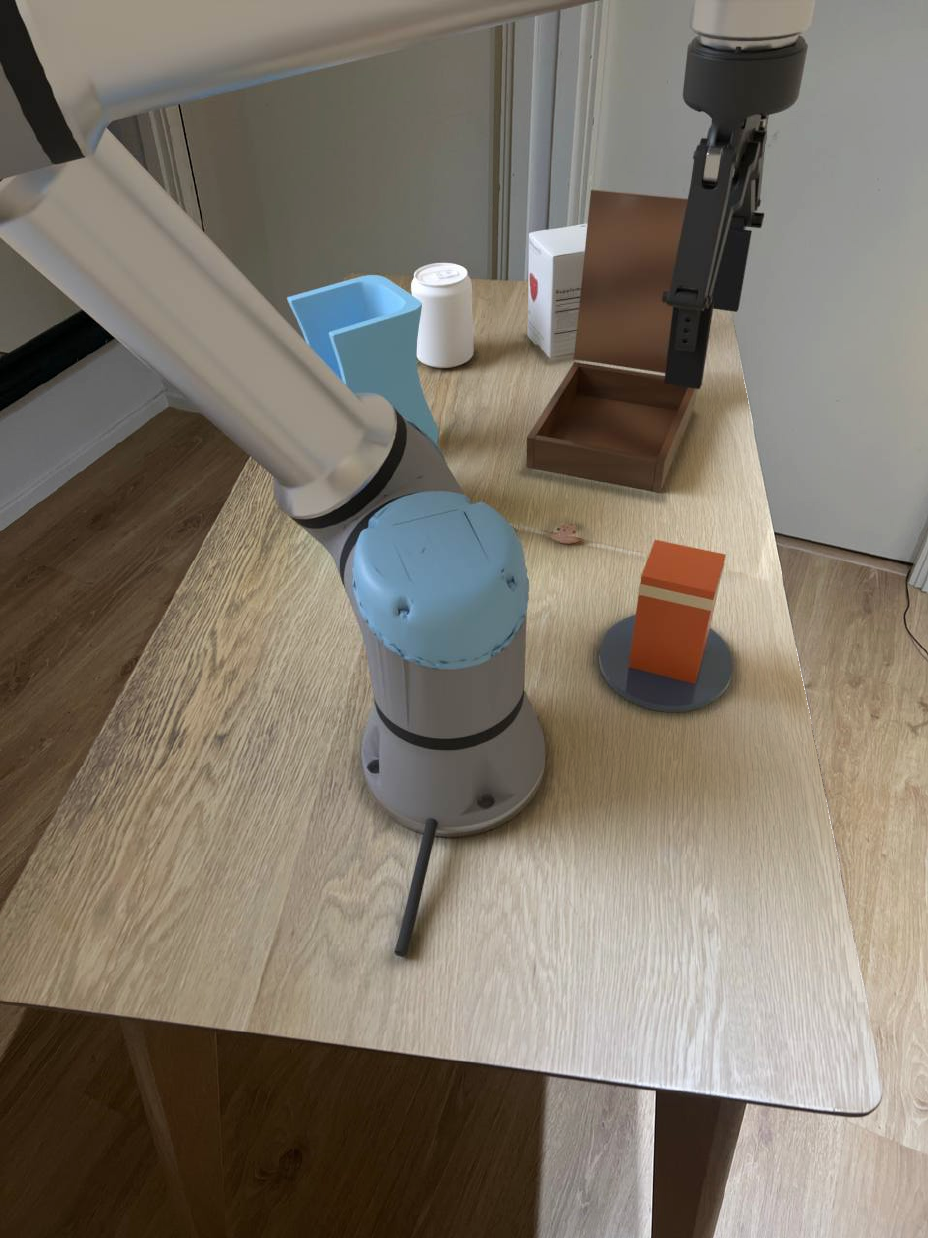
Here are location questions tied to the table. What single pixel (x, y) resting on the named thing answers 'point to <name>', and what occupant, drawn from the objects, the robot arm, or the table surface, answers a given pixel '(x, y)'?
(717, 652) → the plate
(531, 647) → the table surface
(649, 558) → the box
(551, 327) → the white product box
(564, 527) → the cookie
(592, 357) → the chest lid
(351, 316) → the vase
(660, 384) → the chest
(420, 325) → the beverage can
